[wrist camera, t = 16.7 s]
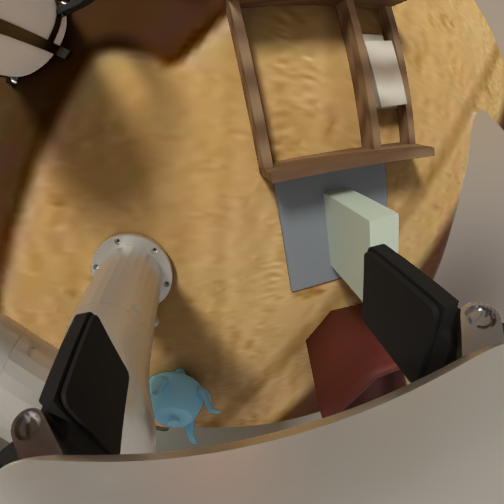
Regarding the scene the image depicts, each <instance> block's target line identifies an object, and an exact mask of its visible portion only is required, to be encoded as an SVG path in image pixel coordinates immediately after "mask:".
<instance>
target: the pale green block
mask: <svg viewBox="0 0 504 504" xmlns="http://www.w3.org/2000/svg"><path fill="white" fill-rule="evenodd" d="M323 195H324V204H325V213H326V222H327V232H328V243H329V254H330V265H331V266H332V267H333V268H334V269H335V271H336V272H337V273H338V274H339V275H340V276H341V277H342V279H343V280H344V281H345V282H346V283H347V284H348V285H349V287H350V288H351V289H352V290H353V291H354V292H355V294H356V295H357V296H358V297H359V298H360V299H361V301H362V302H363V278H364V254H365V253H366V252H367V251H368V248H369V247H372V246H376V245H380V244H385V245H387V246H388V247H390V248H391V249H392V250H394V251H395V252H397V253H398V232H399V214H398V213H396V212H395V211H393V210H391V209H389V208H387V207H385V206H383V205H381V204H380V203H378V202H376V201H374V200H372V199H370V198H368V197H366V196H364V195H362V194H360V193H358V192H356V191H354V190H352V189H350V188H348V187H347V188H342V189H337V190H332V191H328V192H323Z"/></svg>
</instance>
